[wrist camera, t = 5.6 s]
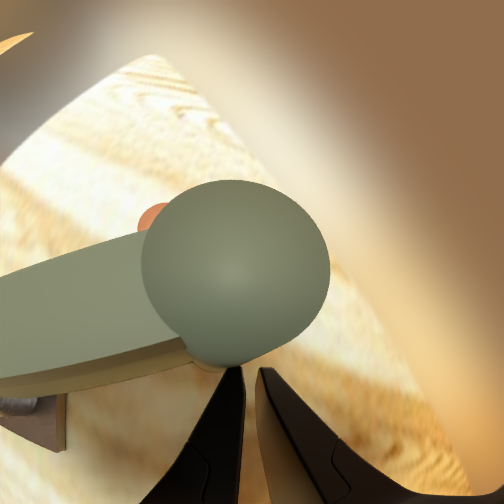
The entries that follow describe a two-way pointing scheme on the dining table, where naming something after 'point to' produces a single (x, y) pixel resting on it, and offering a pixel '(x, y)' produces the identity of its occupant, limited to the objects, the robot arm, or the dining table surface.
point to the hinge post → (36, 419)
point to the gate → (166, 294)
